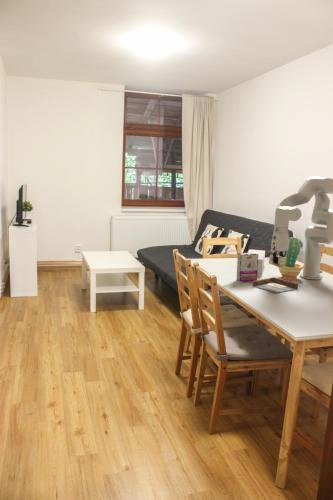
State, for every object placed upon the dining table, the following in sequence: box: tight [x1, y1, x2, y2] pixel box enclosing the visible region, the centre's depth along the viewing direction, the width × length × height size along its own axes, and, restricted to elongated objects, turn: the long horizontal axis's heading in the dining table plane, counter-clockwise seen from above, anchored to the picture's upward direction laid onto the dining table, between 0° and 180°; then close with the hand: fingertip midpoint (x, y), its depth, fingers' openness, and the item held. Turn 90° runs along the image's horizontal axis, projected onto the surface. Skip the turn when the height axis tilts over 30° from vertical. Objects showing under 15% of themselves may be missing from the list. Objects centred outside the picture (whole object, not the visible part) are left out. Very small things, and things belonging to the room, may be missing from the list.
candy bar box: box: [236, 252, 258, 283], centre depth 252 cm, size 11×5×16 cm, turn 105°
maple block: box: [268, 253, 286, 268], centre depth 241 cm, size 8×4×5 cm, turn 37°
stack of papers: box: [247, 249, 266, 277], centre depth 281 cm, size 32×11×11 cm, turn 165°
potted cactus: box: [278, 236, 304, 281], centre depth 262 cm, size 15×15×25 cm
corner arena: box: [251, 276, 299, 294], centre depth 241 cm, size 18×17×3 cm
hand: (278, 262), depth 241 cm, fingers closed on maple block, 4 cm apart
